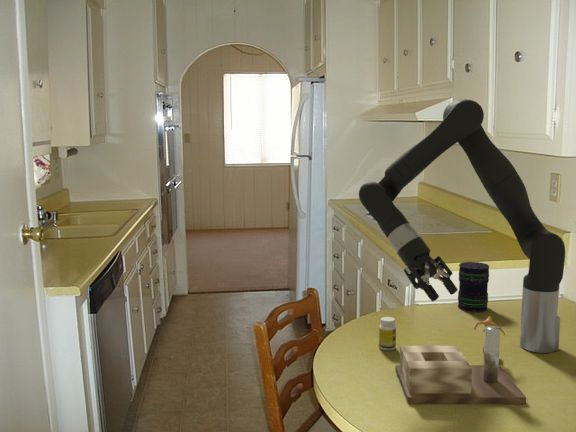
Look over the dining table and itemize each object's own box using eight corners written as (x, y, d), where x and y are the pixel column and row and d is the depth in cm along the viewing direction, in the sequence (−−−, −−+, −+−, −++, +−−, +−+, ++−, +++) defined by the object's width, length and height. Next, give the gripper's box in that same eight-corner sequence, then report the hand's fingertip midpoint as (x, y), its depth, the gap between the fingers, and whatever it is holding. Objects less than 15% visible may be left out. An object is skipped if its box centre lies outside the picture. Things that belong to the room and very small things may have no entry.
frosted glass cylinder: (495, 377, 143) (497, 325, 141) (499, 383, 140) (502, 330, 138) (481, 377, 143) (483, 325, 141) (485, 383, 140) (487, 330, 138)
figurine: (508, 358, 158) (510, 315, 156) (501, 365, 153) (503, 321, 151) (477, 351, 163) (479, 309, 161) (469, 358, 158) (471, 315, 156)
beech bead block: (455, 368, 148) (456, 345, 147) (471, 393, 134) (472, 368, 134) (399, 368, 149) (399, 345, 148) (409, 393, 135) (410, 368, 134)
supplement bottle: (395, 351, 164) (396, 322, 163) (378, 350, 165) (378, 321, 164) (395, 345, 169) (396, 316, 167) (379, 343, 170) (379, 315, 168)
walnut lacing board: (499, 370, 150) (499, 365, 150) (526, 403, 132) (526, 397, 132) (395, 370, 151) (395, 365, 151) (407, 403, 133) (407, 397, 133)
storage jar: (452, 304, 205) (453, 262, 203) (477, 302, 208) (479, 261, 205) (467, 313, 196) (468, 269, 193) (493, 311, 198) (495, 267, 196)
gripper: (400, 239, 147) (439, 293, 141) (432, 232, 157) (470, 282, 150) (383, 257, 152) (420, 310, 145) (415, 249, 162) (451, 298, 155)
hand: (445, 296), depth 148 cm, fingers open, 8 cm apart
